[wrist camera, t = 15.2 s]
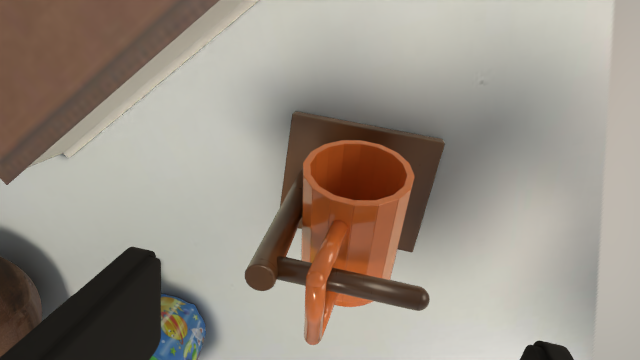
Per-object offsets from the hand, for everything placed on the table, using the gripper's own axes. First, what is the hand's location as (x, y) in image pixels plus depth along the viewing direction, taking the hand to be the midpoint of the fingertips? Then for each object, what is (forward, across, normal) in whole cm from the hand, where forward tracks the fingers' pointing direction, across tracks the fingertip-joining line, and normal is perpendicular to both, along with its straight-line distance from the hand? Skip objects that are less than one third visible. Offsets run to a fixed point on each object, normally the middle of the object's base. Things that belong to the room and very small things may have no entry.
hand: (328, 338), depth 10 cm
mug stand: (+23, 0, +5) cm, 24 cm away
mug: (+14, 0, +10) cm, 17 cm away
